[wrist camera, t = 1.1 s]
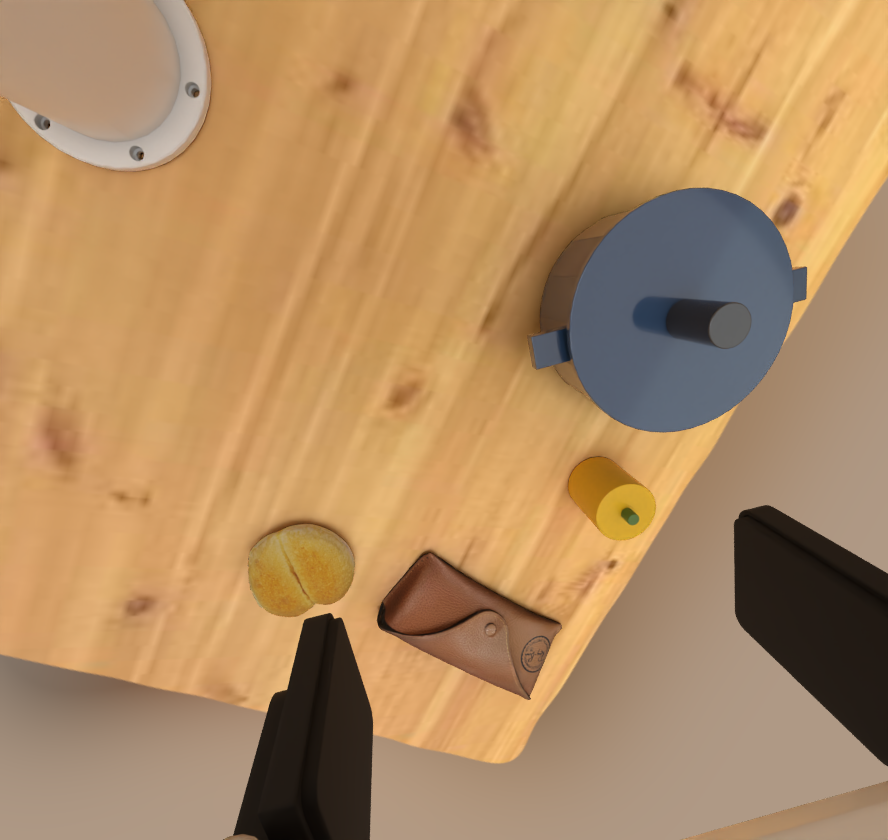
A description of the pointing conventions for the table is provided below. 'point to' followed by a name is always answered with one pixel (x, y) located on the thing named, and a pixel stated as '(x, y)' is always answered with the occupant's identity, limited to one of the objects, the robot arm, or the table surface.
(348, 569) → the bread roll
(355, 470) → the table surface
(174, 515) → the table surface
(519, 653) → the sunglasses case
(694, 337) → the lid
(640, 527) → the yellow cylinder with peg
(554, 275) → the pan
